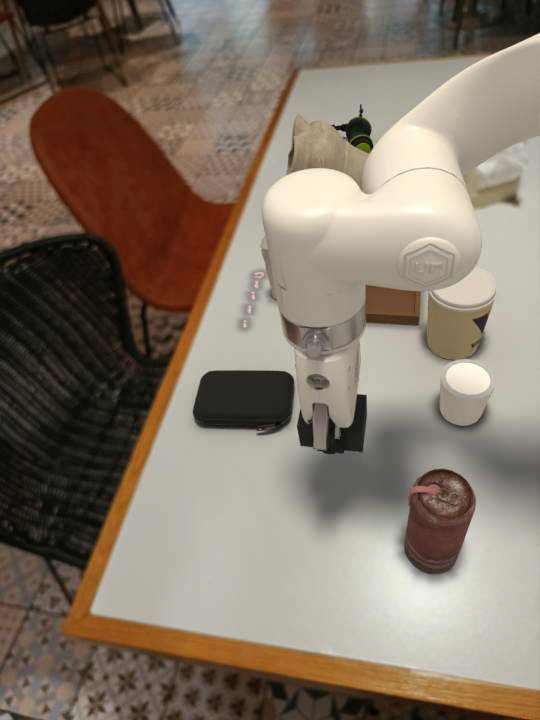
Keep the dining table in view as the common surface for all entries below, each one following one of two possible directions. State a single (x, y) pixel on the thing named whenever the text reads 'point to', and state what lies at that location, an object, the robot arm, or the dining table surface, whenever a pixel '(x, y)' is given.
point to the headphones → (358, 132)
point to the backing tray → (392, 306)
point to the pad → (352, 433)
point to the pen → (268, 266)
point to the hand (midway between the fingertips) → (333, 427)
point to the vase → (324, 150)
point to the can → (438, 519)
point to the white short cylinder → (465, 391)
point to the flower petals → (253, 293)
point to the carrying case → (244, 398)
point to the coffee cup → (460, 315)
